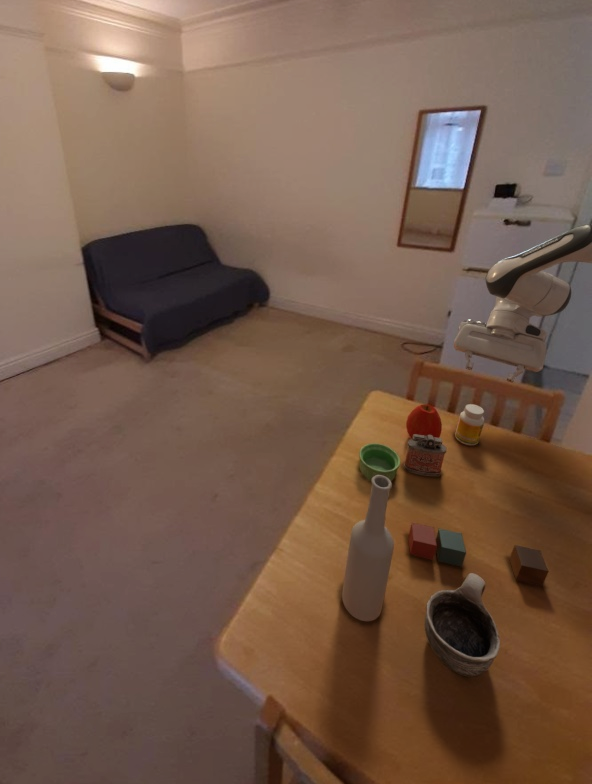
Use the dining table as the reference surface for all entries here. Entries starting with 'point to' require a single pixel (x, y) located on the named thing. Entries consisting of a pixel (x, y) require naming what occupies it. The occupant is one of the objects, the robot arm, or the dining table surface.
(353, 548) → the bottle
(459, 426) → the supplement bottle
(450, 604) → the mug
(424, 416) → the apple
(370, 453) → the ramekin
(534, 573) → the brown block
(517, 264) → the robot arm
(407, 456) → the lighter
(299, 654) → the dining table surface
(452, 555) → the block
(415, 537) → the red cube
